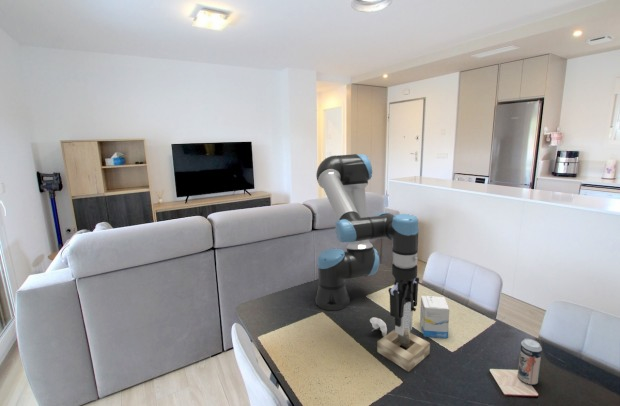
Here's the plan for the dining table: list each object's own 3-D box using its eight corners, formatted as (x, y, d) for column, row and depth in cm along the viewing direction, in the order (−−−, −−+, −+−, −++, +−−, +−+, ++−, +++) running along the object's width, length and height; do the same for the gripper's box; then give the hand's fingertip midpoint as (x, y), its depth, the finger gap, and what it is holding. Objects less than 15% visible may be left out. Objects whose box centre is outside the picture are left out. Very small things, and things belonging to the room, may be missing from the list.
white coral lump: (383, 332, 114) (393, 322, 111) (380, 344, 108) (390, 334, 105) (366, 318, 116) (375, 309, 113) (362, 329, 110) (371, 319, 107)
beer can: (513, 373, 89) (517, 338, 86) (528, 372, 89) (532, 336, 87) (526, 386, 84) (530, 349, 82) (542, 385, 84) (546, 347, 82)
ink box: (448, 338, 105) (450, 308, 103) (423, 336, 107) (424, 307, 105) (443, 324, 114) (444, 296, 111) (419, 322, 115) (420, 294, 113)
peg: (394, 340, 99) (395, 301, 96) (402, 334, 101) (402, 297, 98) (405, 346, 96) (406, 306, 93) (412, 340, 98) (413, 301, 95)
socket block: (377, 351, 101) (377, 341, 100) (398, 336, 108) (398, 326, 107) (408, 372, 91) (408, 360, 91) (429, 353, 99) (429, 342, 98)
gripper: (398, 276, 85) (397, 348, 90) (430, 259, 95) (428, 325, 100) (377, 268, 91) (377, 336, 96) (409, 253, 101) (408, 315, 106)
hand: (403, 330), depth 98 cm, fingers closed on peg, 4 cm apart
